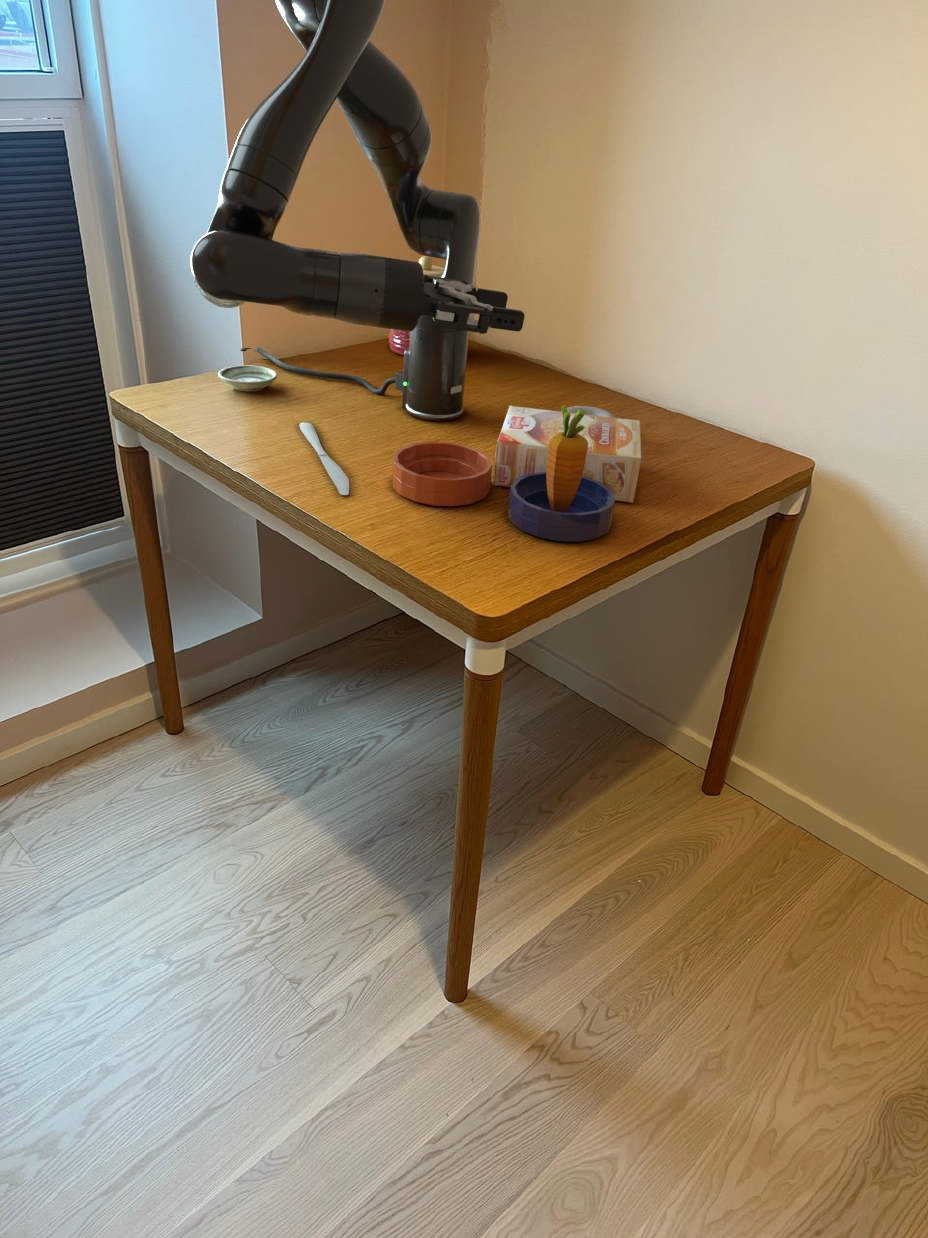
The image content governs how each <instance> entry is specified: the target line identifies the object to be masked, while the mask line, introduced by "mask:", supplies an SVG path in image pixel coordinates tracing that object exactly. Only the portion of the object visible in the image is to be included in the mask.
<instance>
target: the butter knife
mask: <svg viewBox="0 0 928 1238" xmlns="http://www.w3.org/2000/svg"><path fill="white" fill-rule="evenodd" d="M298 427H299V429H300V431H301V433H302V435H304V437H305V438H306V439H307V441H308V442H309V444H310V445H311V446H312V447H313V449H314V450H315V452H316V454H317V455H318V457H319V459H320V461H321V462H322V464H323V467H324V468H325V470H326V472H327V474H328V476H329V477H330V479H331V481H332V482H333V484H334V485H335V487H336V490H337V491H338V493H339V494H340V495H341V496H345V497H346V496H348V495H350V479H349V477H348V476H347V474H346V473H345V472H344V471H343V469H342V468H341V466H339V465H338V464H337V463H336V462H335V461H334V460H333V459H332V458H331V457H330V455H328V454H327V453H326V451H325V450H324V448H323V447H322V444H321V442H320V438H319V435H318V433H317V431H316V429H315V427H314V426H313V425H312V424H311V423H310V422H305V421H304V422H300V423H299V424H298Z"/></svg>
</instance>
